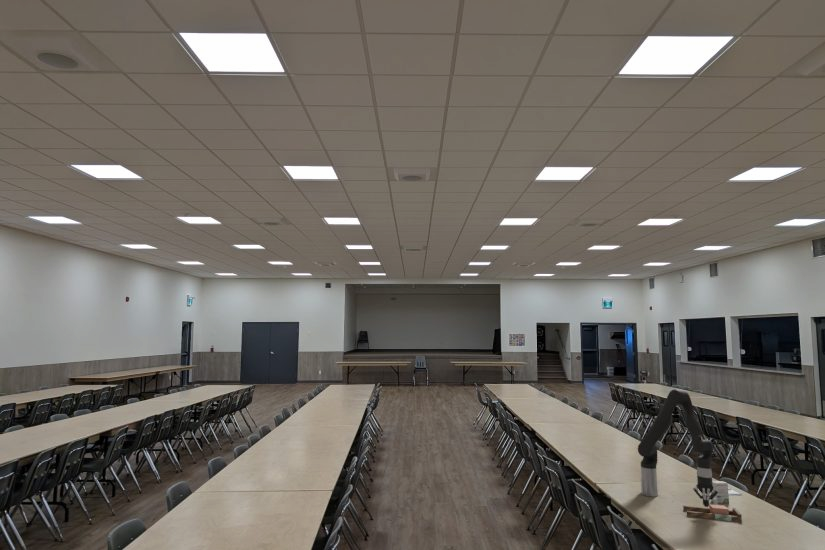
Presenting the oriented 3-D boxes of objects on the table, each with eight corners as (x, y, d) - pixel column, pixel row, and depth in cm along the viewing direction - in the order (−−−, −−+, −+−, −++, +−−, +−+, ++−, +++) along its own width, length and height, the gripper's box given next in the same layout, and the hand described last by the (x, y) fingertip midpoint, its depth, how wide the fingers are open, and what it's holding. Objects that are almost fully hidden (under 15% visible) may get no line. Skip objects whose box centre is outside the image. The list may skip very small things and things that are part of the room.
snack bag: (722, 486, 341) (722, 483, 341) (742, 496, 321) (742, 492, 321) (695, 486, 340) (695, 483, 340) (714, 496, 320) (713, 492, 320)
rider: (713, 517, 281) (712, 507, 282) (709, 514, 287) (709, 504, 287) (729, 519, 279) (728, 509, 279) (725, 515, 285) (724, 505, 285)
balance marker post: (714, 511, 291) (713, 498, 292) (713, 510, 293) (712, 497, 294) (718, 511, 290) (717, 499, 291) (717, 510, 292) (716, 498, 293)
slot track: (687, 516, 283) (686, 508, 283) (683, 509, 293) (683, 502, 294) (741, 522, 274) (741, 514, 275) (735, 515, 285) (735, 508, 285)
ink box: (724, 500, 311) (722, 480, 312) (729, 502, 306) (728, 483, 308) (711, 500, 311) (709, 480, 312) (716, 503, 306) (715, 483, 307)
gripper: (693, 475, 286) (694, 507, 284) (719, 478, 282) (721, 509, 280) (690, 472, 293) (691, 503, 291) (715, 474, 289) (717, 505, 287)
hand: (706, 506), depth 285 cm, fingers closed
